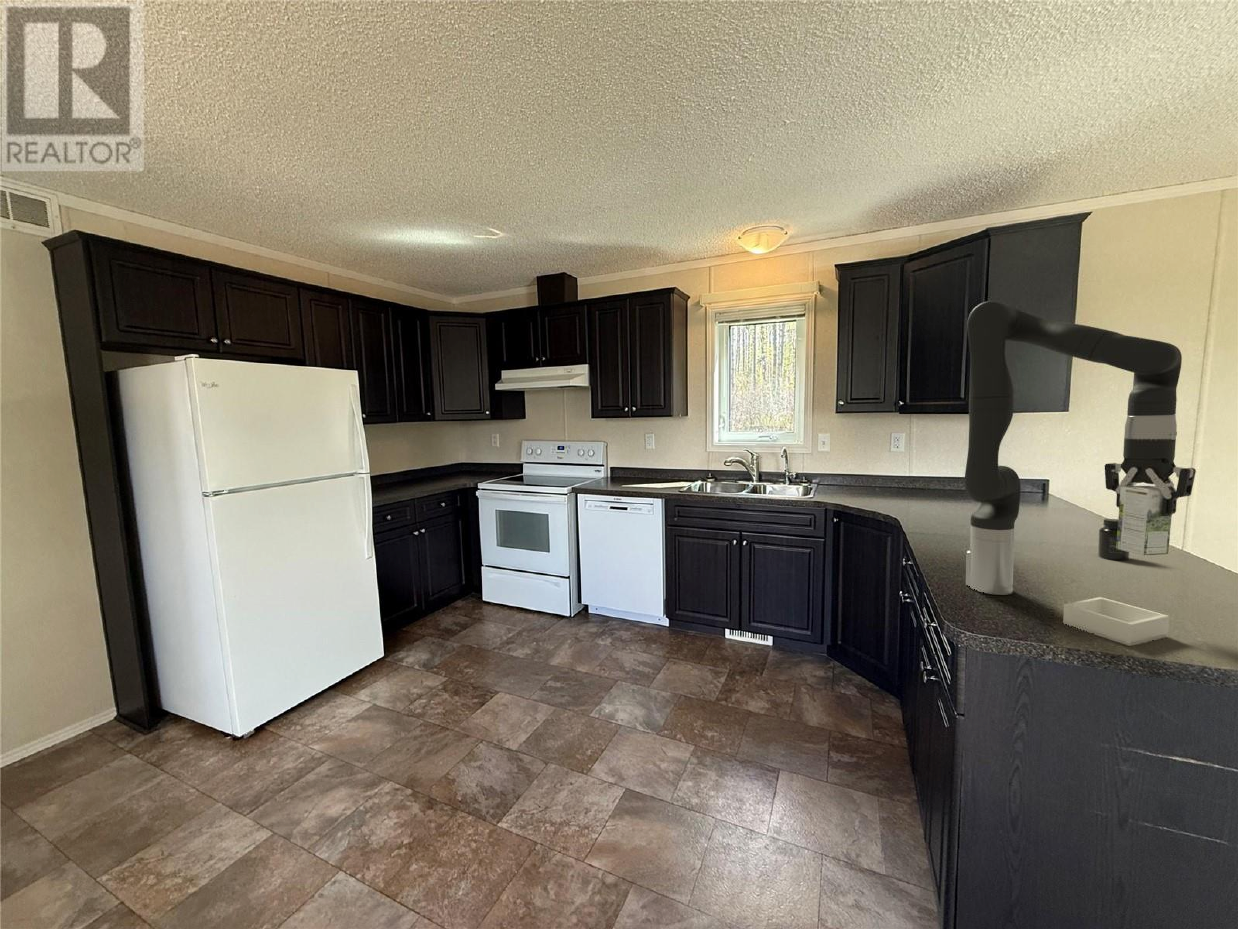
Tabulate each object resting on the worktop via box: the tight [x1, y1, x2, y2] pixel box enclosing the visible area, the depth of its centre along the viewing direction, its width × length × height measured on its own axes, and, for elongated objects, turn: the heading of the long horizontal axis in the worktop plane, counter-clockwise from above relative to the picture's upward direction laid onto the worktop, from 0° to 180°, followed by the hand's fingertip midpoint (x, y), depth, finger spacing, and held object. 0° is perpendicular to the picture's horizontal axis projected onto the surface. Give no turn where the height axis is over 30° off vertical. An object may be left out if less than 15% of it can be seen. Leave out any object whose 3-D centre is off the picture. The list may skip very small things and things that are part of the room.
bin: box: [1062, 596, 1170, 647], centre depth 104 cm, size 12×12×4 cm
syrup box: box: [1116, 484, 1172, 556], centre depth 106 cm, size 6×6×14 cm
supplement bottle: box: [1097, 518, 1130, 561], centre depth 151 cm, size 7×7×12 cm
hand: (1144, 512), depth 106 cm, fingers closed on syrup box, 6 cm apart
